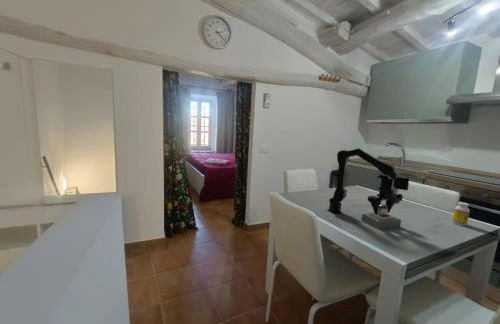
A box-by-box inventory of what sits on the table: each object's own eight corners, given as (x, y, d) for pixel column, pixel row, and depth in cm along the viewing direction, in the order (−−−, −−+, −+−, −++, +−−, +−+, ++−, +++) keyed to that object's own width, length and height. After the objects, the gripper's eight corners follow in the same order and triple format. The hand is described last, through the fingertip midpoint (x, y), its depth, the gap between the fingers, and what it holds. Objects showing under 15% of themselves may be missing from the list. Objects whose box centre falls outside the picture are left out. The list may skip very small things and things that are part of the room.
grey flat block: (379, 229, 123) (380, 219, 122) (361, 220, 134) (362, 211, 133) (400, 226, 129) (401, 217, 128) (381, 218, 140) (382, 209, 139)
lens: (381, 219, 128) (383, 207, 127) (374, 215, 132) (375, 204, 131) (388, 218, 129) (390, 206, 128) (380, 214, 134) (382, 203, 133)
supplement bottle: (463, 226, 133) (468, 205, 131) (449, 222, 139) (453, 202, 137) (468, 225, 136) (473, 204, 134) (454, 220, 142) (458, 200, 140)
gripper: (386, 191, 117) (382, 220, 120) (411, 190, 124) (407, 217, 126) (368, 186, 128) (364, 212, 130) (392, 184, 134) (388, 210, 137)
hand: (381, 213), depth 131 cm, fingers open, 9 cm apart
